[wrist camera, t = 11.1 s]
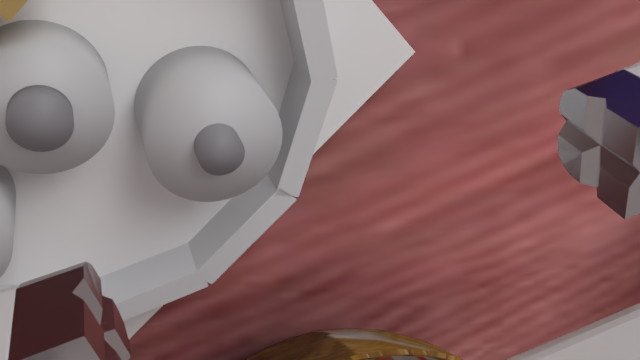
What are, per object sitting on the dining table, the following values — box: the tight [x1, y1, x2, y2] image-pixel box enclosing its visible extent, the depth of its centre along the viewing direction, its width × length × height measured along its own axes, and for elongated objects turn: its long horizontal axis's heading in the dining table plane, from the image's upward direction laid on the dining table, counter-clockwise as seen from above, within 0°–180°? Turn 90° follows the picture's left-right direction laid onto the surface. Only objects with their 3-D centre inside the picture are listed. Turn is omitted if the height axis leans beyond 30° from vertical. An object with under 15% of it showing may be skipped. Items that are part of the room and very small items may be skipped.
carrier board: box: [0, 0, 415, 339], centre depth 25 cm, size 26×26×6 cm
